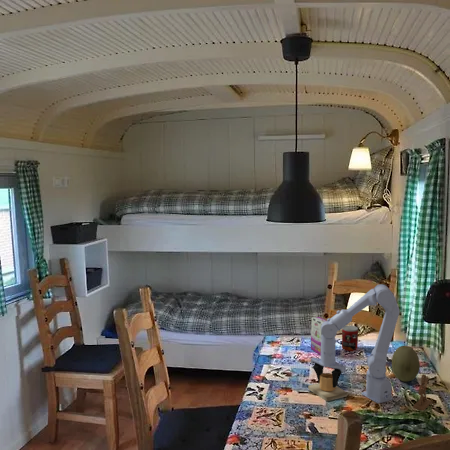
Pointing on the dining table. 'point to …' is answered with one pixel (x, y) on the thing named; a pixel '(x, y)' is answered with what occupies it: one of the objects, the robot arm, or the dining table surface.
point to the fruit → (405, 363)
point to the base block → (327, 392)
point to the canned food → (350, 338)
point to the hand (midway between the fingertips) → (327, 384)
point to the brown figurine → (423, 401)
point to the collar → (326, 382)
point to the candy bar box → (316, 334)
